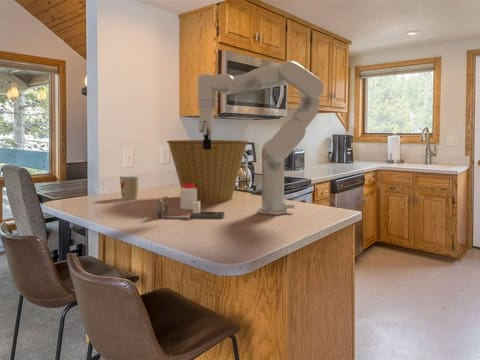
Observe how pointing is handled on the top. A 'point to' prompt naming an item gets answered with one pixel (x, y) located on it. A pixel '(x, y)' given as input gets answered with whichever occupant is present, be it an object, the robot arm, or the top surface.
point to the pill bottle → (187, 195)
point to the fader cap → (196, 207)
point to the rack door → (164, 205)
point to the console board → (208, 215)
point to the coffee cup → (129, 187)
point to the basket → (208, 167)
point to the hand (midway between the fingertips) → (207, 149)
